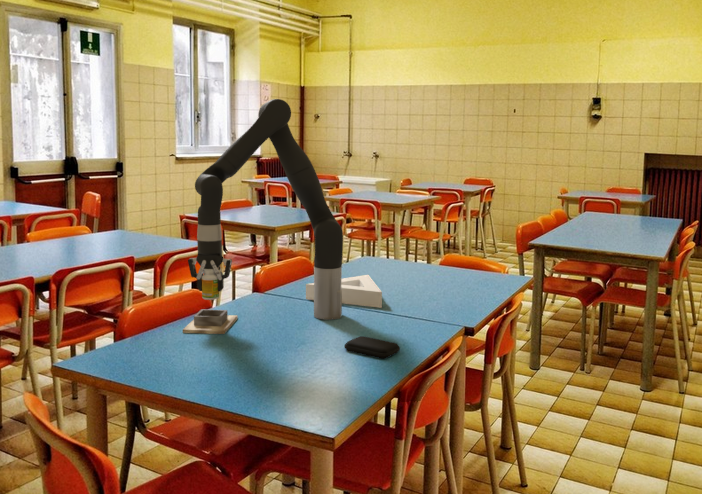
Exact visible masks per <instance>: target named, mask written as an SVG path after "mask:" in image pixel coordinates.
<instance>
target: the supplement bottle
mask: <svg viewBox="0 0 702 494" xmlns="http://www.w3.org/2000/svg"><path fill="white" fill-rule="evenodd" d="M218 280H219V279H218V277H217V275H216V273H215V271H214V269H204V274H203V276H202V291H201V298H202V299H203V300H205V301H213V300H218V299H219V298H220V292H219V291H218Z"/></svg>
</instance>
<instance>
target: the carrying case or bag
mask: <svg viewBox="0 0 702 494" xmlns="http://www.w3.org/2000/svg"><path fill="white" fill-rule="evenodd" d="M344 349H345V351H347V352H350V353H354V354H359V355H363V356H368V357H370V358H371V357H373V358H375V359H381V360H385V359H388V358H390V357H392V356H393V355H396V354H398V352H400V350H401V347H400V346H399V344H398V343H396V342H392V341H388V340H384V339H379V338H374V337H368V336H358V337H355V338H353V339H351V340H348V341H346V342H345V344H344Z"/></svg>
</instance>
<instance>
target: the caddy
mask: <svg viewBox="0 0 702 494" xmlns="http://www.w3.org/2000/svg"><path fill="white" fill-rule="evenodd" d="M237 320H238V315H237V314H235V315H230V314H228V309H204V308H203V309H202V308H201V309H200V310H199V311H198V312H196V313H195V314H194V316H193V320H191V321H190V322H189V323H188V324H187V325H186V326H185V327H183V328H182V333H183V334H207V335H209V334H210V335H211V334H212V335H214V334H216V335H225V334H226V333H227V331H229V329H230V328H231V327H232V326H233V324H234V323H235V322H236V321H237Z"/></svg>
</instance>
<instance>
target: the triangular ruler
mask: <svg viewBox="0 0 702 494" xmlns="http://www.w3.org/2000/svg"><path fill="white" fill-rule="evenodd" d="M341 287H342V304H345V305H353V306H363V307H364V306H365V307H373V308H380V309H382V308H383V305H382V304H383V302H382V301H383V292H382V290H381V289H380V288H379V286H378V285H377V284H376V282H375V281H374V280H373V279H372V278H371V276H370V275H369V274H364V275H357V276H349V277H344V278H343V277H342V278H341ZM305 300H309V301H311V300H312V301H314V282H312V283H306V284H305Z"/></svg>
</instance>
